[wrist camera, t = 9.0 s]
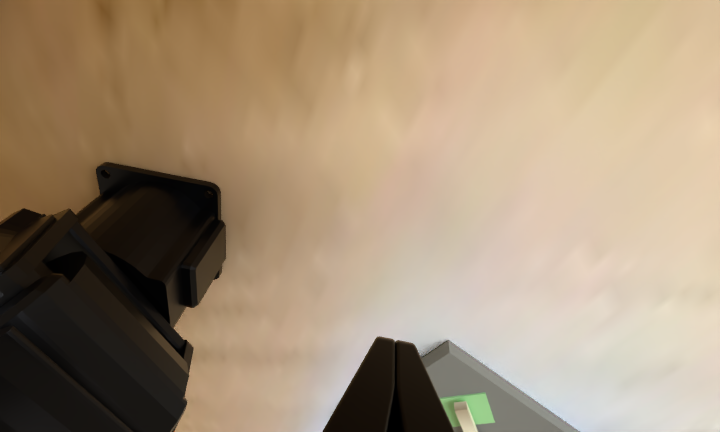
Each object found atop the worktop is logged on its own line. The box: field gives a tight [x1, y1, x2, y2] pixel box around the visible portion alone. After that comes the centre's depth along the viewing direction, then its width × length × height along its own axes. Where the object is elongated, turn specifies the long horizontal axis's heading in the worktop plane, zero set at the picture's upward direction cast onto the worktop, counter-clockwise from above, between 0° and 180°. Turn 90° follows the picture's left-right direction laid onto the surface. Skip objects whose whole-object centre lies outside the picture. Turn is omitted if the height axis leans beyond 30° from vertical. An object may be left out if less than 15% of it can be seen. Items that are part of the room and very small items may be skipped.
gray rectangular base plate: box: [421, 340, 579, 432], centre depth 32 cm, size 14×10×1 cm
